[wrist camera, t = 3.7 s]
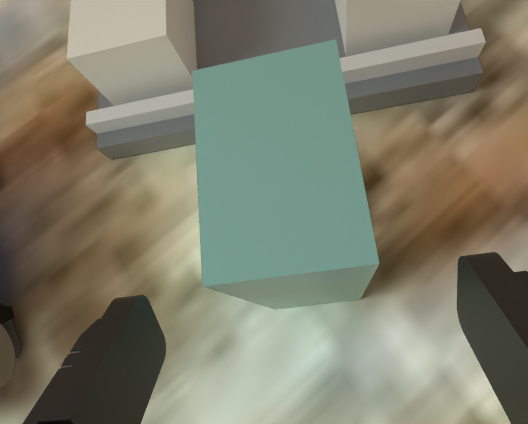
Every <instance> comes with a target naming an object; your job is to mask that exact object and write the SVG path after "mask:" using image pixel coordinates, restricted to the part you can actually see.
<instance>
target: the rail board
mask: <svg viewBox="0 0 528 424" xmlns="http://www.w3.org/2000/svg"><path fill="white" fill-rule="evenodd" d="M193 3H194V20H195V40H196V59H197V70H199V69H203V68H208V67H212V66H217V65H221V64H226V63H231V62H235V61H240V60H244V59H249V58H253V57H258V56H262V55H267V54H271V53H276V52H280V51H285V50H289V49H294V48H299V47H303V46H308V45H312V44H317V43H321V42H326V41H330V40H335V39H336V42H337V47H338V52H339V58H340V63H341V68H342V73H343V78H344V83H345V89H346V94H347V99H348V104H349V109H350V114H356V113H361V112H367V111H372V110H377V109H382V108H388V107H393V106H398V105H404V104H409V103H414V102H419V101H425V100H430V99H435V98H441V97H446V96H451V95H457V94H462V93H467V92H472V91H474V90H475V88H476V86H477V84H478V82H479V80H480V79H481V77H482V75H483V73H484V72H483V69H482V66H481V63H480V60H479V55H480V53H481V51H482V49H483V47H484V45H485V43H486V41H485V38H484V35H483V32H482V30H481V28H479V29H474V30H469V27H468V24H467V21H466V18H465V15H464V12H463V9H462V6H461V3H459V6H458V8H457V11H456V14H455V17H454V20H453V23H452V25H451V28H450V31H449V34H448V35H444V36H440V37H435V38H430V39H426V40H421V41H416V42H411V43H407V44H402V45H397V46H393V47H388V48H383V49H378V50H374V51H369V52H364V53H360V54H355V55H350V56H346V54H345V49H344V44H343V39H342V34H341V29H340V24H339V19H338V14H337V9H336V4H335V0H193ZM86 126H88V127H89V128H90V129H91V130H93V131H94V132H95V133H96V134H97V144H96V148H97V149H98V150H99V151H101V152H102V153H103V154H105V155H106V156H107V157H109V158H110V159H111V160H113V159H118V158H123V157H129V156H134V155H139V154H144V153H150V152H155V151H160V150H166V149H171V148H176V147H181V146H187V145H192V144H196V139H195V118H194V97H193V89H190V90H186V91H181V92H176V93H171V94H167V95H162V96H157V97H153V98H148V99H143V100H139V101H134V102H129V103H124V104H120V105H115V106H114V105H113V104H112V103H111V102H110V101H109V100H108V99H107V98H106V97H105V96H104V95H103V94H102V93H101V92H100V91H99V98H98V109H97V110H93V111H88V112H86Z"/></svg>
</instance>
